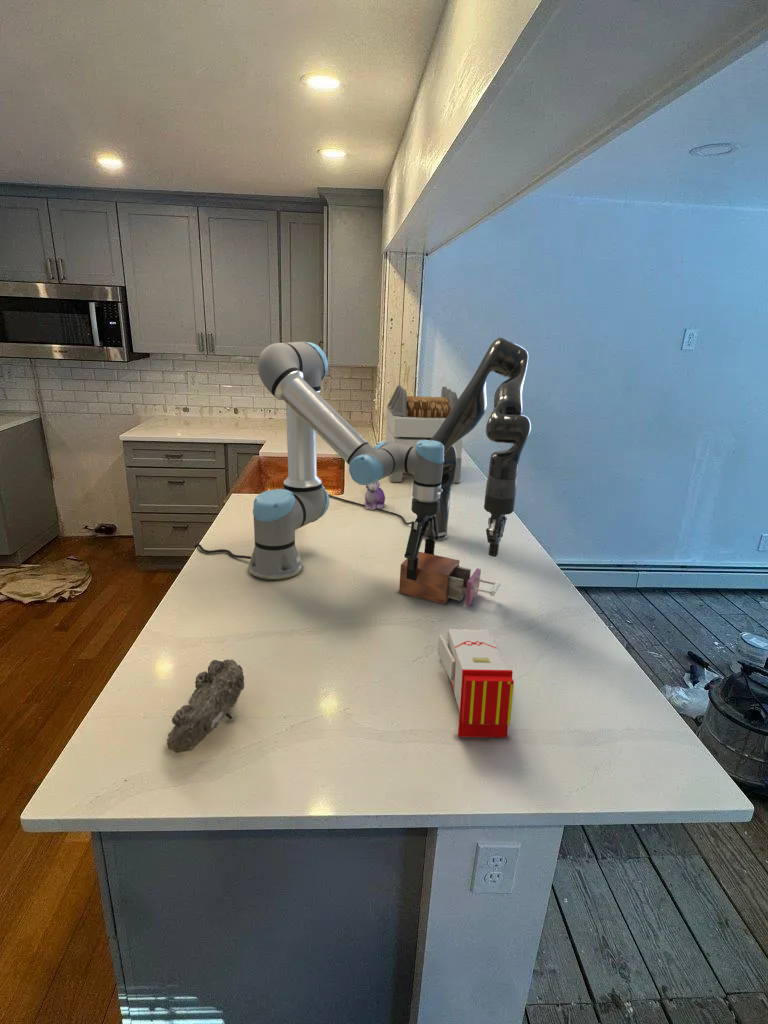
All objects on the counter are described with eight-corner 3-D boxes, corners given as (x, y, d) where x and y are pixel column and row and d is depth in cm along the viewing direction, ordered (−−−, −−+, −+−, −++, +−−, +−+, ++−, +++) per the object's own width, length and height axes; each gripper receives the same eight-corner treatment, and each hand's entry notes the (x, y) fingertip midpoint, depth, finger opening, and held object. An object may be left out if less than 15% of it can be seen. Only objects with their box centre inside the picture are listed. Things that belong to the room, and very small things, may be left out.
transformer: (382, 463, 289) (386, 382, 275) (445, 464, 293) (451, 384, 279) (390, 482, 257) (394, 392, 243) (460, 483, 261) (468, 394, 247)
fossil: (192, 660, 117) (244, 628, 112) (224, 691, 120) (276, 661, 115) (142, 746, 98) (202, 712, 93) (182, 779, 101) (242, 748, 96)
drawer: (500, 595, 157) (502, 573, 155) (491, 611, 149) (494, 588, 147) (436, 581, 164) (438, 559, 162) (425, 595, 156) (427, 572, 154)
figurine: (369, 511, 219) (370, 474, 214) (358, 503, 228) (359, 467, 223) (390, 509, 224) (392, 472, 219) (378, 501, 232) (380, 465, 227)
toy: (488, 613, 130) (523, 677, 101) (484, 667, 133) (517, 744, 104) (435, 612, 130) (455, 676, 101) (432, 666, 133) (451, 743, 103)
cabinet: (457, 587, 163) (459, 560, 160) (445, 604, 154) (447, 575, 151) (413, 577, 168) (414, 550, 165) (398, 592, 159) (400, 564, 156)
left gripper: (423, 514, 140) (416, 591, 148) (453, 488, 162) (446, 556, 169) (395, 509, 143) (390, 584, 150) (428, 484, 165) (423, 551, 172)
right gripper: (509, 502, 136) (501, 567, 142) (520, 488, 148) (512, 549, 154) (479, 497, 139) (472, 561, 145) (492, 484, 151) (485, 544, 157)
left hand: (420, 569), depth 160 cm, fingers open, 13 cm apart
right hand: (493, 555), depth 149 cm, fingers closed
